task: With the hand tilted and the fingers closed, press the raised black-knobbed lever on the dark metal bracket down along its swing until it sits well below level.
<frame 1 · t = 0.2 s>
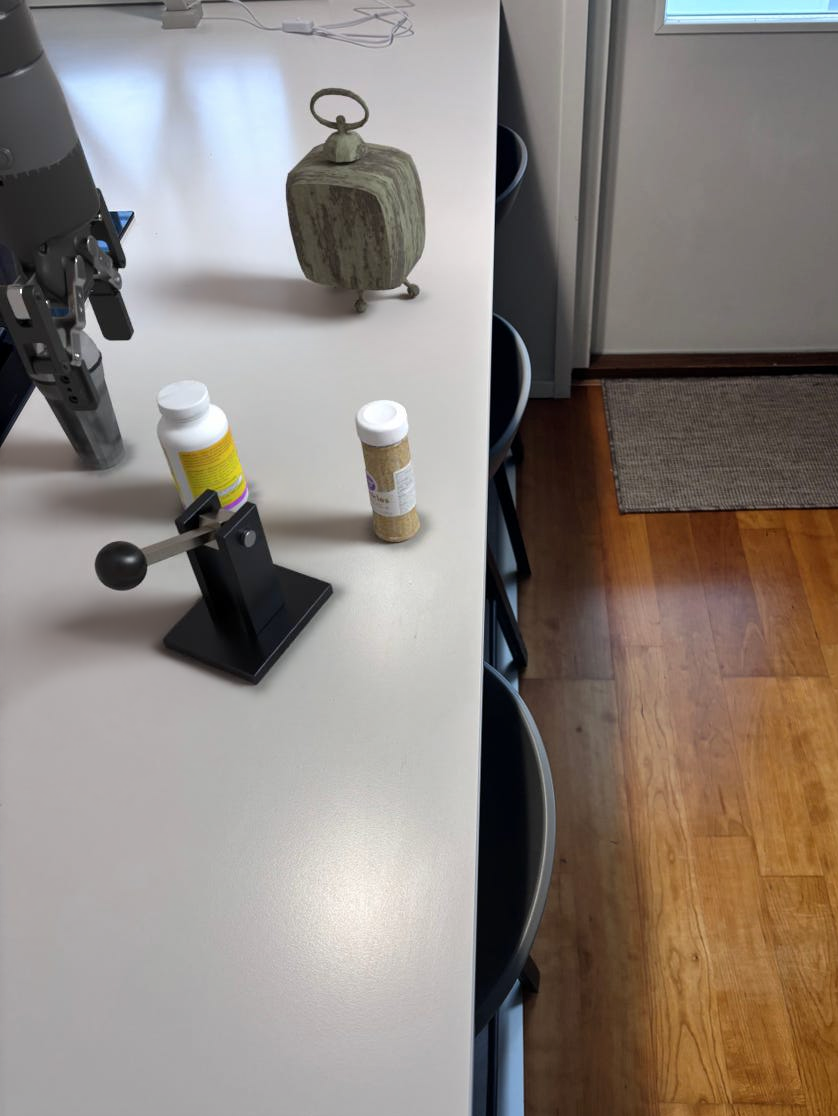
hand: (103, 371, 71), 25 cm above the counter, tool pointing down, fingers open, 8 cm apart
bracket: (251, 619, 88), on the counter
tabletop clock: (367, 304, 124), on the counter
sprinkles bottle: (398, 529, 96), on the counter
lever: (172, 546, 76), point 13 cm above the counter, hinge at 25.0°
beverage cup: (104, 458, 106), on the counter
supplement bottle: (217, 503, 100), on the counter
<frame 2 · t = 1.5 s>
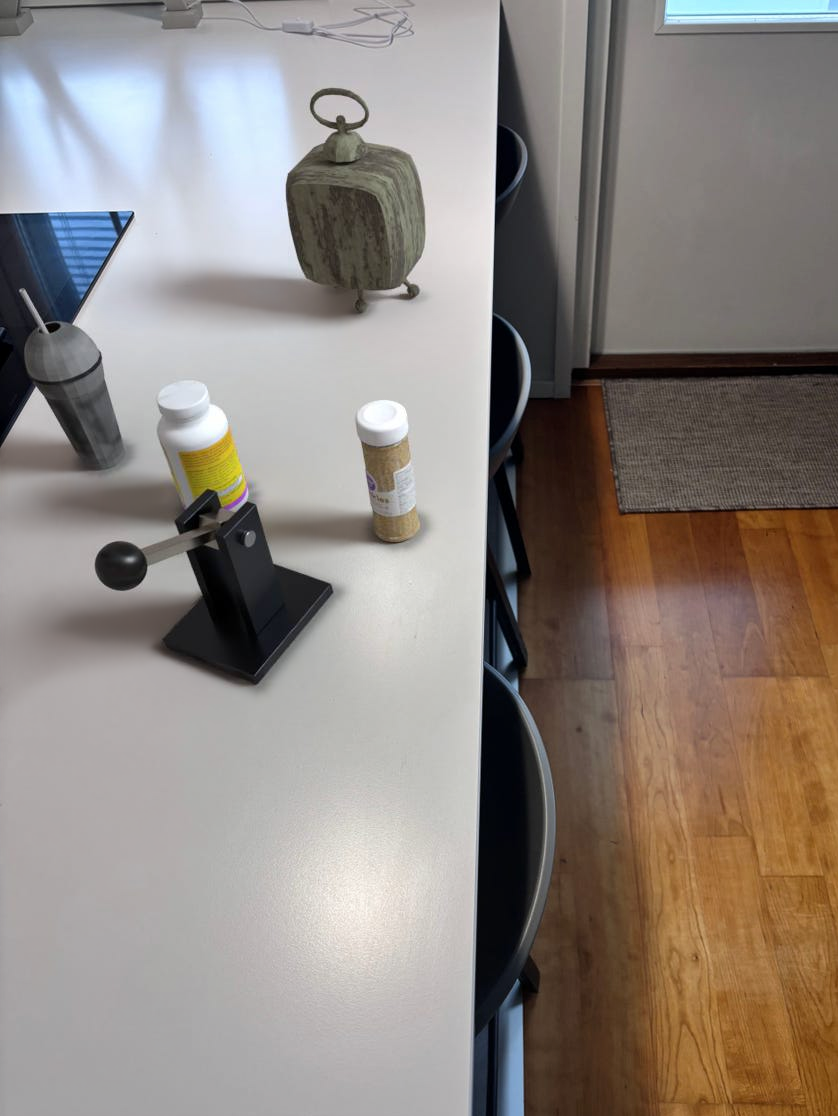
nothing on the counter moved.
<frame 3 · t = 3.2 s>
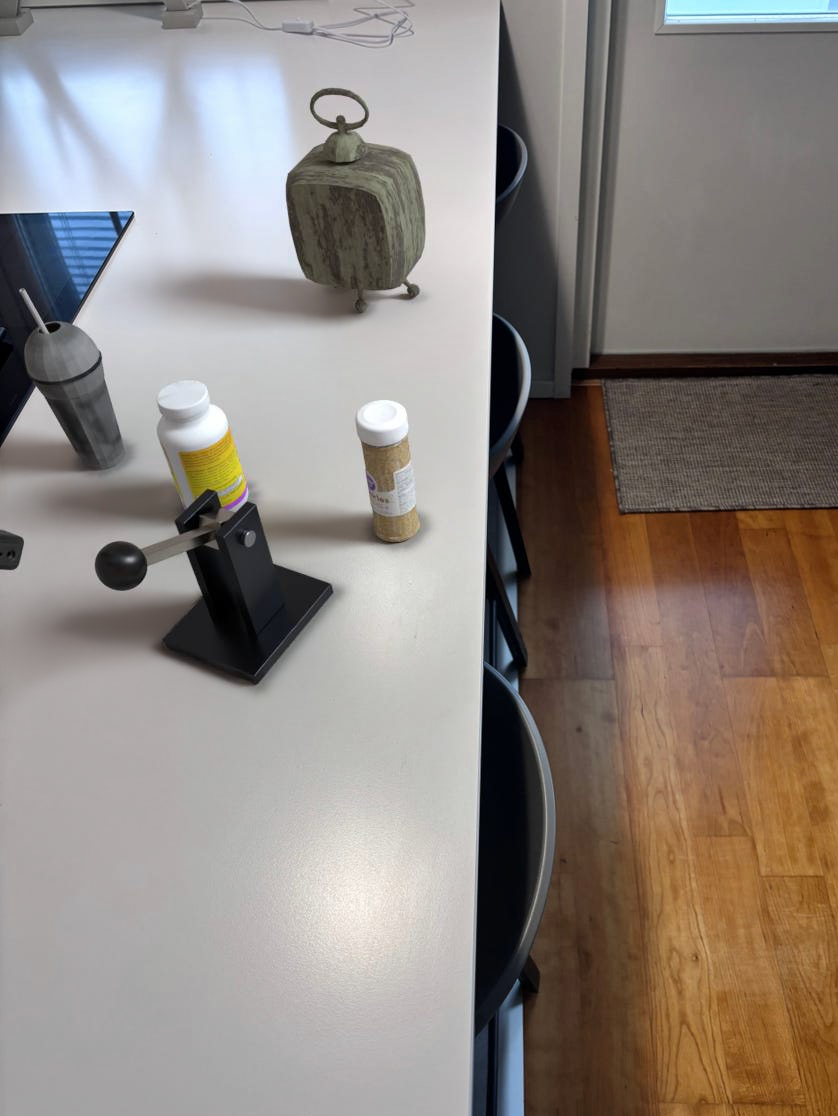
hand: (12, 550, 62), 23 cm above the counter, tool tilted 45°, fingers closed
nothing on the counter moved.
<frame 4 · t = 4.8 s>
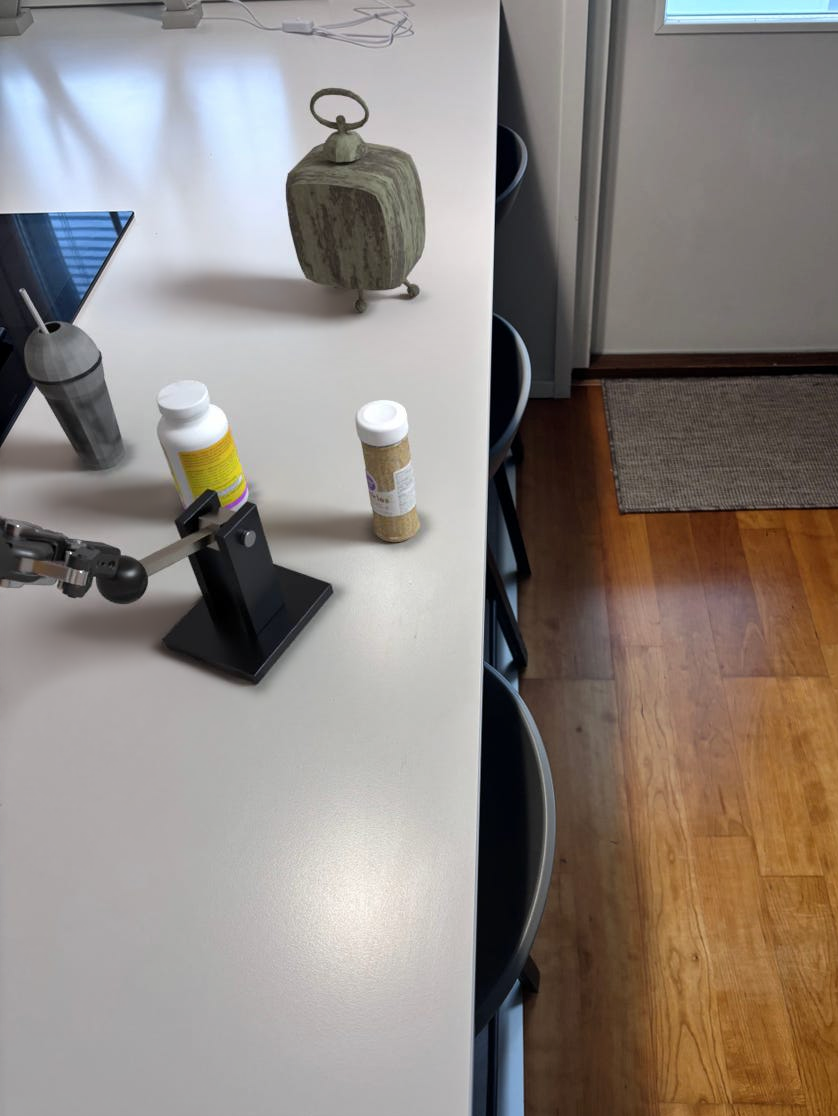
hand: (110, 560, 70), 17 cm above the counter, tool tilted 45°, fingers closed
lever: (172, 553, 76), point 13 cm above the counter, hinge at 19.2°, touching gripper
everything else where it was.
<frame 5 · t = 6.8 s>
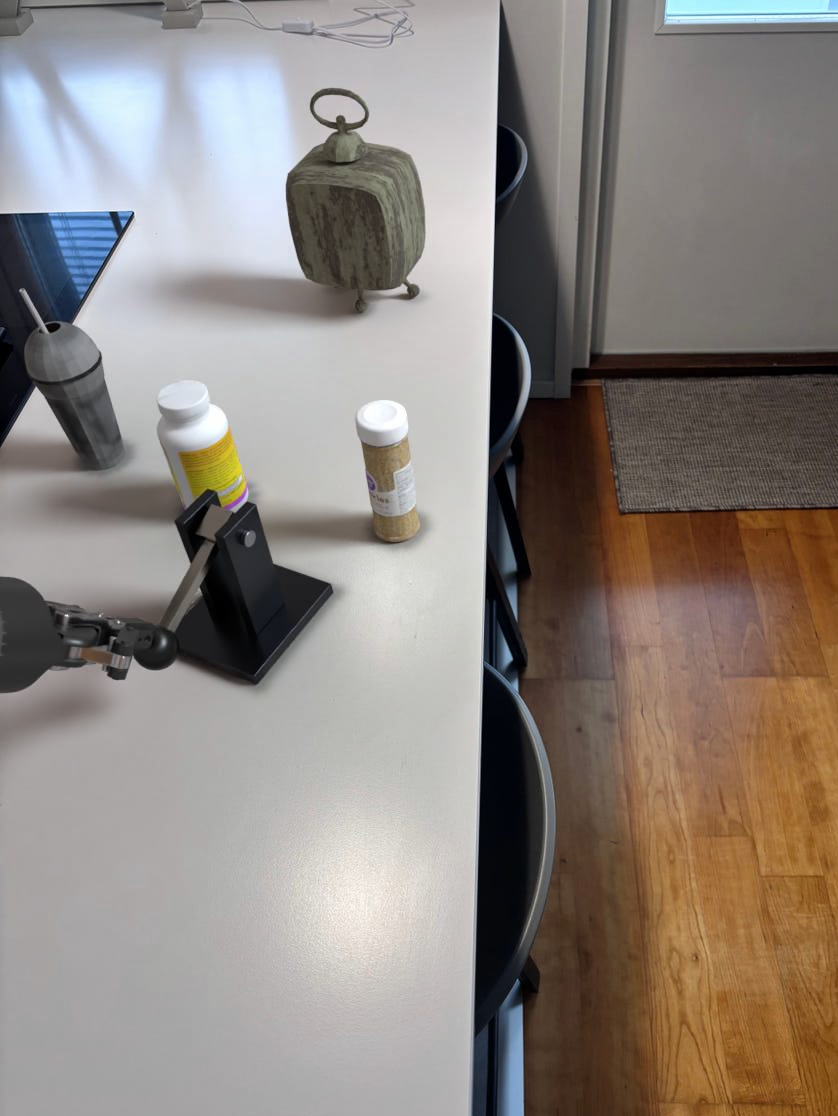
hand: (145, 633, 76), 9 cm above the counter, tool tilted 45°, fingers closed
lever: (187, 589, 79), point 9 cm above the counter, hinge at -22.3°, touching gripper
everything else where it was.
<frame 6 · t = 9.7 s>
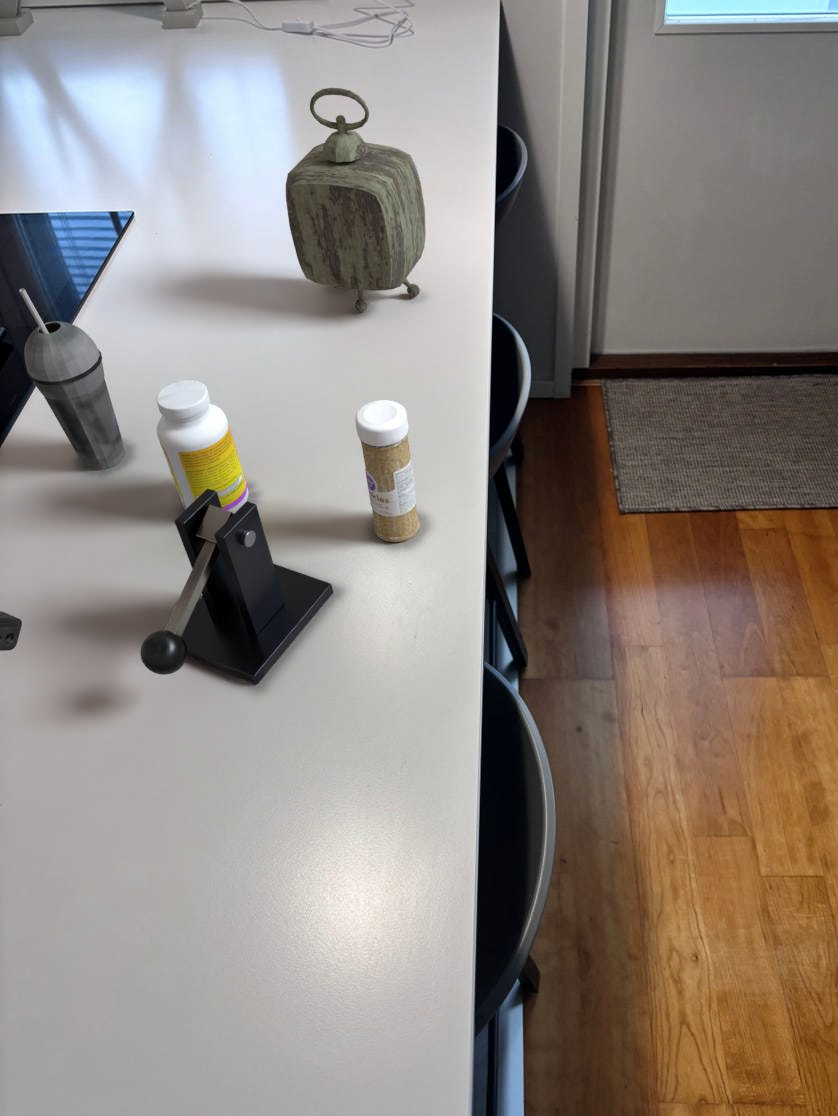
hand: (10, 630, 64), 18 cm above the counter, tool tilted 45°, fingers closed
lever: (191, 592, 79), point 8 cm above the counter, hinge at -28.6°
everything else where it was.
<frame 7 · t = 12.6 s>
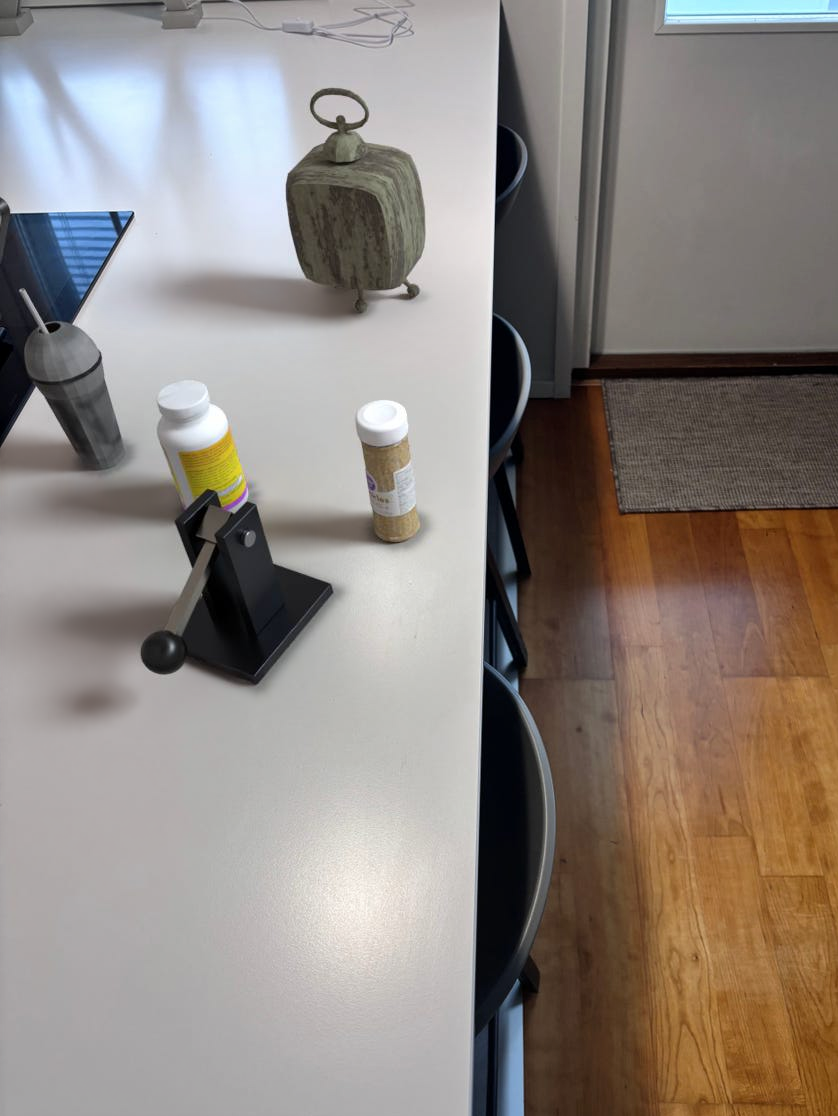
nothing on the counter moved.
at the end: lever at -29° (first picture: +25°) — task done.
